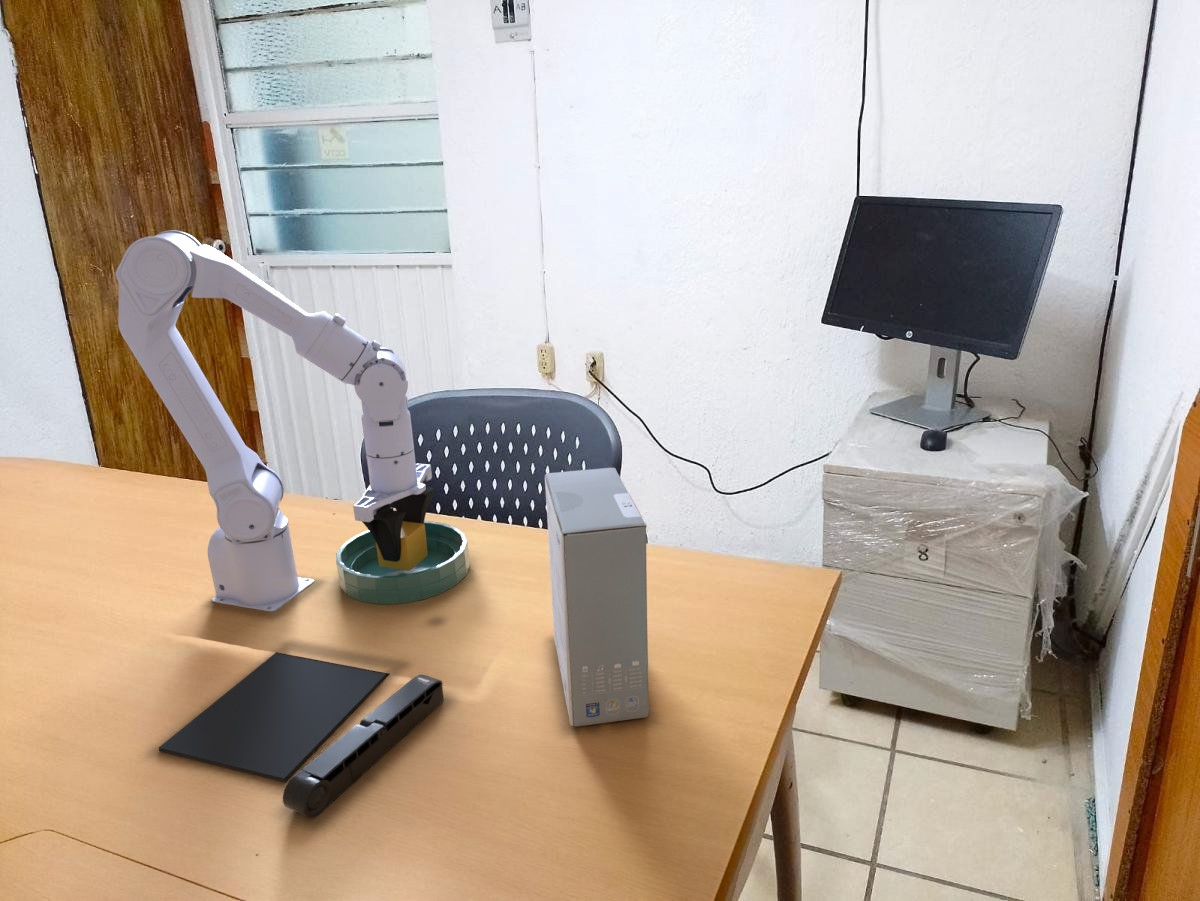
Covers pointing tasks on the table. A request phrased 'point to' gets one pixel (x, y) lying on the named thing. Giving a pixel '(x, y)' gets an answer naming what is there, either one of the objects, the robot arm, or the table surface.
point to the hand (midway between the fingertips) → (402, 551)
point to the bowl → (403, 586)
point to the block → (408, 547)
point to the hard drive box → (598, 595)
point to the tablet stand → (361, 746)
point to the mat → (275, 716)
